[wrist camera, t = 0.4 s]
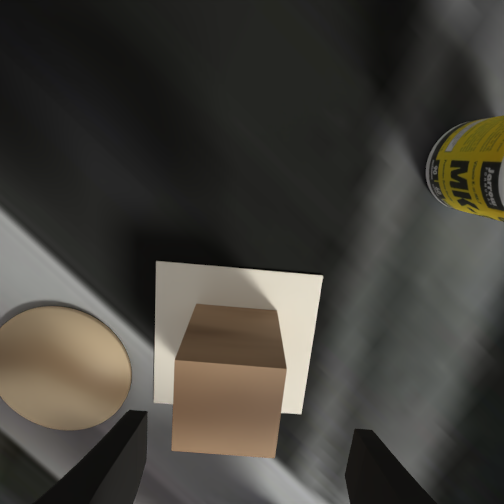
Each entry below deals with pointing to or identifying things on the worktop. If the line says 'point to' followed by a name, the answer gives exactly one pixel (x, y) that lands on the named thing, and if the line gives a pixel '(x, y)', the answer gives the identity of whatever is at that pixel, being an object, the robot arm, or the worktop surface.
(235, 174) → the worktop surface
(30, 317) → the cork coaster
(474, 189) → the supplement bottle
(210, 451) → the walnut block
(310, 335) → the tile
